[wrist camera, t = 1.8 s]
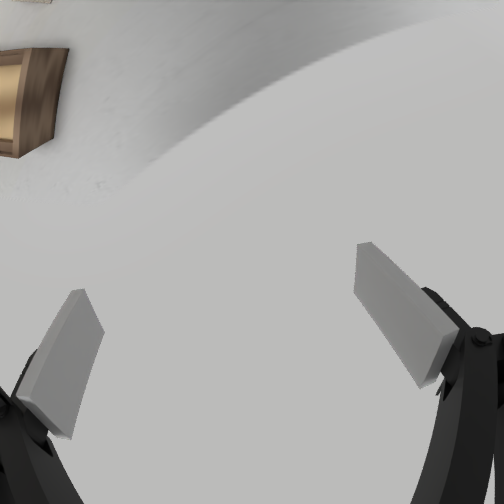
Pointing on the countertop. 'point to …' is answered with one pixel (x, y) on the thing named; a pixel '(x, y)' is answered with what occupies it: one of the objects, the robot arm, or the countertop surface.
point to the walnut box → (34, 97)
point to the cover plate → (8, 98)
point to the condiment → (43, 0)
